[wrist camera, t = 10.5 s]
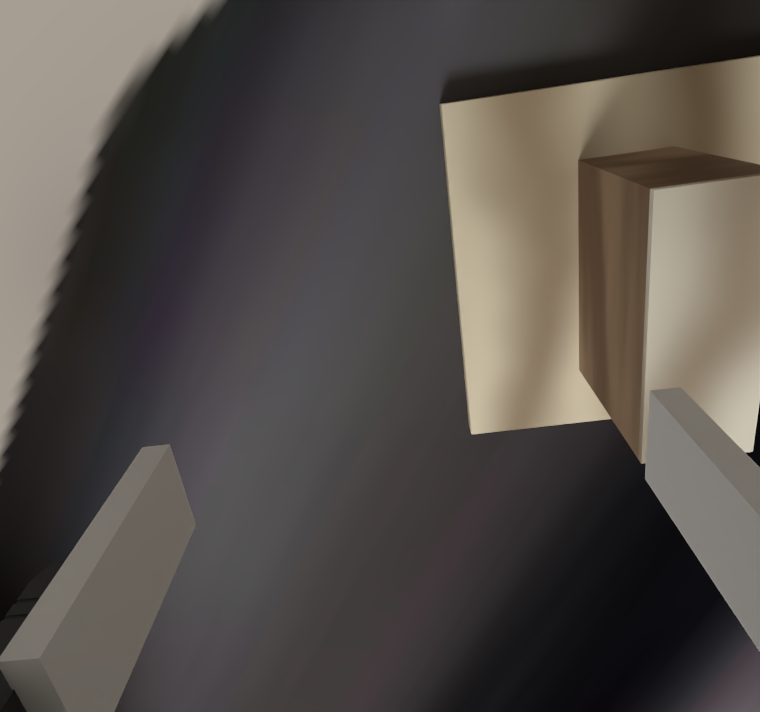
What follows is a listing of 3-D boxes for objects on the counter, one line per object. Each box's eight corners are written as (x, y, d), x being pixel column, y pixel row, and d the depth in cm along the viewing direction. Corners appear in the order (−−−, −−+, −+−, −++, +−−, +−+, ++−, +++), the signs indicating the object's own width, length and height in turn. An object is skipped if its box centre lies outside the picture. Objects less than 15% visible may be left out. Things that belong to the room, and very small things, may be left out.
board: (468, 424, 32) (471, 434, 31) (439, 103, 25) (441, 104, 25) (859, 380, 31) (874, 389, 30) (934, 28, 24) (955, 26, 23)
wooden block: (579, 369, 29) (641, 463, 22) (578, 160, 25) (654, 190, 18) (661, 360, 29) (752, 451, 22) (674, 146, 25) (790, 171, 18)
